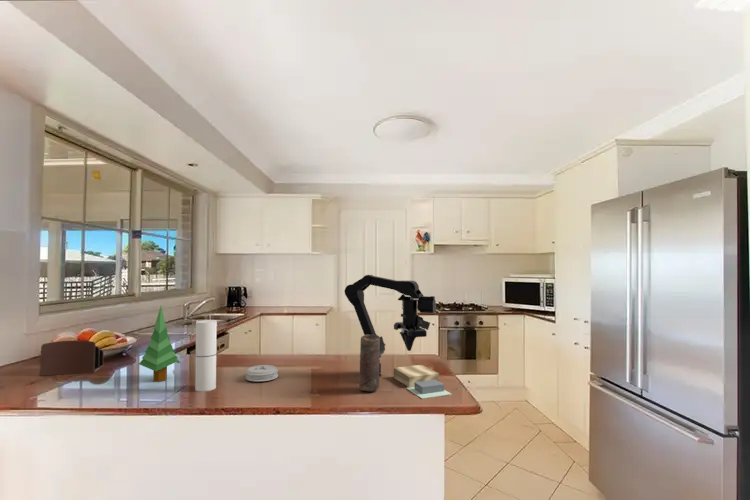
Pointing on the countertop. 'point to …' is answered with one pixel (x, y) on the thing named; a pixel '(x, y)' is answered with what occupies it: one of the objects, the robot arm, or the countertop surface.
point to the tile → (429, 386)
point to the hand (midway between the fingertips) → (409, 350)
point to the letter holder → (70, 358)
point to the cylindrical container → (205, 355)
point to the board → (414, 374)
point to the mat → (429, 395)
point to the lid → (261, 373)
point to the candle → (369, 362)
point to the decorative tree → (159, 351)
